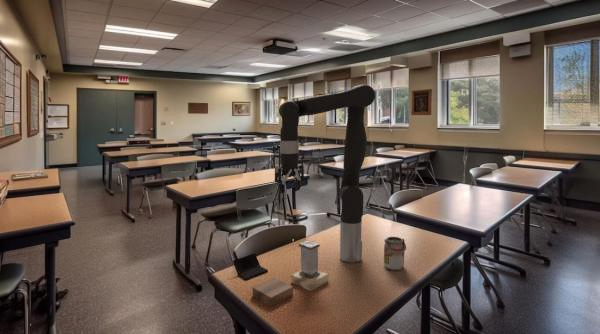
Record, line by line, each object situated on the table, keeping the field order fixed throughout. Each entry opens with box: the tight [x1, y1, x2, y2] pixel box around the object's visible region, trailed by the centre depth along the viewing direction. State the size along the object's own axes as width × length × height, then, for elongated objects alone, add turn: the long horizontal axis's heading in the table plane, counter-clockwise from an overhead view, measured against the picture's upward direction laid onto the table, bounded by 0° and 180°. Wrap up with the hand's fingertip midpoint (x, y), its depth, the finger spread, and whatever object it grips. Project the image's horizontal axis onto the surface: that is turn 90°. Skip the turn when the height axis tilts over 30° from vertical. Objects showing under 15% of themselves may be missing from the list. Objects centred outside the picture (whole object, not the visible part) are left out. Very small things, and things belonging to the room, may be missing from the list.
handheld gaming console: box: [232, 253, 268, 281], centre depth 135 cm, size 12×7×10 cm
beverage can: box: [383, 236, 407, 271], centre depth 138 cm, size 9×8×12 cm
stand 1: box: [252, 277, 294, 307], centre depth 117 cm, size 10×10×3 cm
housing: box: [298, 240, 321, 279], centre depth 126 cm, size 6×5×12 cm
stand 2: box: [290, 269, 330, 292], centre depth 127 cm, size 10×10×3 cm
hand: (289, 191), depth 137 cm, fingers open, 8 cm apart
